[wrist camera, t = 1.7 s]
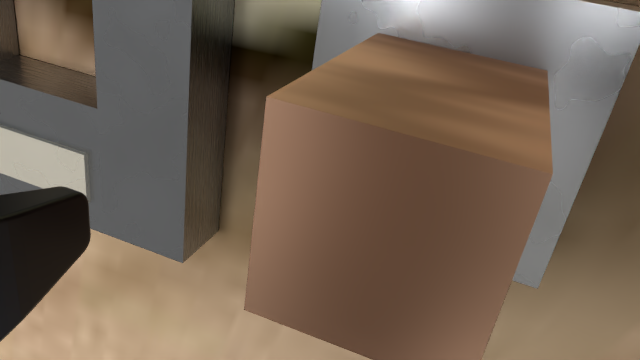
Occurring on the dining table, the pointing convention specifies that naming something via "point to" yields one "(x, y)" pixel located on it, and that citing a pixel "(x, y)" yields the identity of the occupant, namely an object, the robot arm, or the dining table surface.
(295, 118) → the peg
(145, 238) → the plate
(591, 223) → the dining table surface
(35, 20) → the dining table surface
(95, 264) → the dining table surface
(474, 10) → the tray
